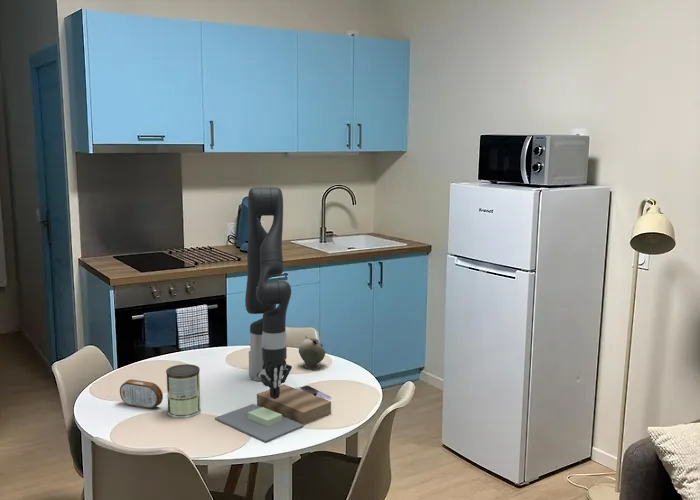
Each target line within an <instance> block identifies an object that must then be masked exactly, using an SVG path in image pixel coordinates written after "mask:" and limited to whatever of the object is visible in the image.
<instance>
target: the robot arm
mask: <svg viewBox="0 0 700 500" xmlns="http://www.w3.org/2000/svg"><path fill="white" fill-rule="evenodd" d="M283 197H284V196H283V192H282V190H281V188H280V187H275V186H274V187H273V186H256V187H255V186H254V187H251V188H250V189H249V191H248V194H247V212H248V213H247V214H248V238H247V255H246V258H247V260H246V263H247V278H246V286H245V287H246V289H245V299H244V301H245V310H246V311H247V313H248V314H252V315H259V314H262V318H260V319H258V320H255V321H254V322H252V323H251V324H250V325H249V346H250V350H249V351H248V376H249V377H250V378H251V380H254V381H257V382H261V384H263V385H264V386H265V387H267V388H269V390H270V397H271V398H273V399H277V398H279V395H280V386H281V384H282V385H283V384H284V383H285V382H286V381H287V378H288V377H289V374H290V372H291V371H292V367H293V366H292V365H290V364H288V363H287V355H288V354H287V351H288V350H287V347H288V346H287V333H286V317H287V316H286V315H287V311H288V306H289V303H290V300H291V296H292V286H291V285H290V283H289V282H288V281H286V280H273V281H271V280H270V279H271V278H274V277H275V278H276V277H278V276H280V275H282V274H283V272H284V258H283V227H284V225H283V223H284V199H283ZM263 216H267V217H268V216H269V217H271V216H272V217H273V220H272V224H271V226H270V229H269V230H268V232H267V231H266V229H265V228H264V227H263V225H262V223H261V221H260V218H259V217H263ZM277 305H278V306H277Z"/></svg>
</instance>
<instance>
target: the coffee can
mask: <svg viewBox="0 0 700 500" xmlns="http://www.w3.org/2000/svg"><path fill="white" fill-rule="evenodd" d="M165 373H166V389H167V393H166V394H167V414H168V416H170V417H171V416H172V418H175V417H176V418H175V419H187V418H192V417H194V416H195V417H196V416H197V415H198V414H200V413H201V411H202V409H201V389H200V387H201V386H200V384H201V383H200V382H201V381H200V367H199V366H198V365H196V364H191V363H190V364H189V363H187V364H184V363H183V364H177V365H173V366H169V367H168V368H167V369H166V370H165Z"/></svg>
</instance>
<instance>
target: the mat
mask: <svg viewBox="0 0 700 500" xmlns="http://www.w3.org/2000/svg"><path fill="white" fill-rule="evenodd" d="M258 408H261V407H259V406H257V404H256V405H255V404H253V403H251V404H250V405H249V404H248V405H246V406H243V407H239V408H238V409H235V410H232V411H229V412H226V413H224V414H222V415H219V416H216V417H214V420H215V421H218V422H220V423H222V424H224V425H226V426H228V427H230V428H233V429H235V430H236V431H239V432H241V433H243V434H246V435H247V436H250V437H252V438H255V439H257V440H258V441H261V442H263V443H265V444H267V443H269V442H272V441H274V440H276V439H278V438H280V437H284V436H286V435H288V434H291V433H293V432H295V431H298V430H300V429H303V428H304V425H302V424H300V423H298V422H295V421H293V420H290V419H288V418H285V417H283V416H282V421H280V422H278V423H275V424H273V425H271V426H268V427H267V426H265V425H262V424H260V423H257V422H255V421H252V420H250V419H248V412H250V411H253V410H256V409H258Z"/></svg>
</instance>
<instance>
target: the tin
mask: <svg viewBox="0 0 700 500" xmlns="http://www.w3.org/2000/svg"><path fill="white" fill-rule="evenodd" d="M119 396H120V398H121V400H122V402H123V403H125V404H126V405H127V404H128V406H130V405H132V407H136V406H138V407H137V408H142V407H143V408H142V409H148V408H150V410H151V409H154V408H157V407H158V406H160V405H161V404H162V402H163V399H164V398H163V397H164V395H163V391H162V390H161V388H160V387H159V385H157V383H154V382H152V381H146V380H145V381H144V380H139V379H128V380H126V381H125V382H124V383H122V384H121V385H120V387H119Z"/></svg>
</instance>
